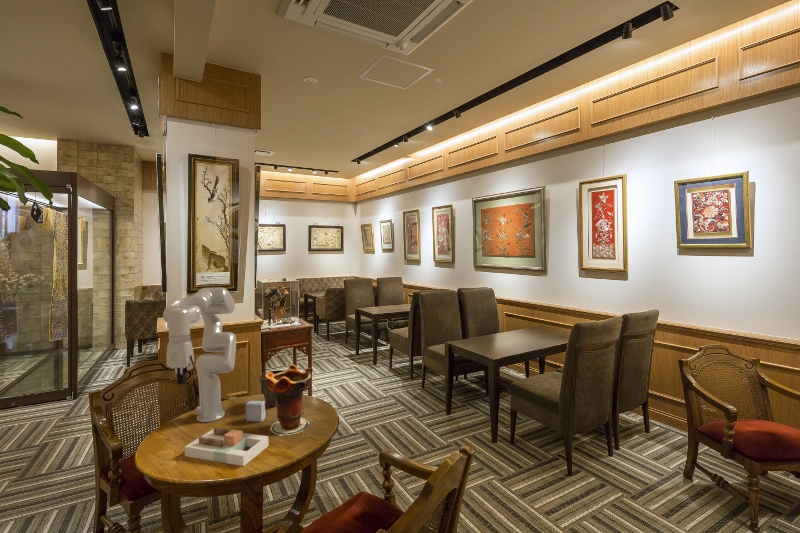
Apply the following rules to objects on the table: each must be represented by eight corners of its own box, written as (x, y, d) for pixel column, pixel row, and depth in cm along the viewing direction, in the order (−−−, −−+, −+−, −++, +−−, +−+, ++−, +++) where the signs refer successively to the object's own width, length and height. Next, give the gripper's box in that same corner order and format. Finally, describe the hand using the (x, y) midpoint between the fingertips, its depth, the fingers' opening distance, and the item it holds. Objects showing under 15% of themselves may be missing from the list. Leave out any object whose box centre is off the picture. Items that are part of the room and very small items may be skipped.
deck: (185, 456, 159) (184, 446, 159) (214, 437, 175) (213, 428, 174) (243, 466, 151) (243, 456, 151) (268, 445, 167) (268, 436, 166)
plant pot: (268, 397, 219) (267, 369, 218) (294, 399, 217) (293, 370, 216) (255, 409, 204) (254, 379, 203) (282, 410, 202) (281, 379, 201)
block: (224, 444, 160) (223, 435, 160) (232, 438, 165) (232, 429, 165) (234, 446, 159) (234, 436, 158) (242, 440, 163) (242, 430, 163)
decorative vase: (322, 416, 193) (319, 361, 190) (297, 441, 171) (293, 379, 168) (285, 412, 199) (282, 358, 196) (257, 435, 177) (252, 376, 174)
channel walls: (199, 443, 161) (198, 437, 161) (215, 433, 170) (215, 427, 170) (221, 447, 158) (221, 441, 158) (237, 436, 167) (236, 430, 167)
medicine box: (265, 418, 194) (265, 400, 193) (261, 422, 189) (261, 404, 189) (250, 417, 194) (249, 400, 194) (246, 421, 190) (245, 404, 189)
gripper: (157, 340, 159) (159, 384, 160) (187, 342, 154) (189, 387, 156) (173, 335, 166) (175, 378, 167) (201, 337, 162) (203, 381, 163)
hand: (182, 382), depth 161 cm, fingers closed
